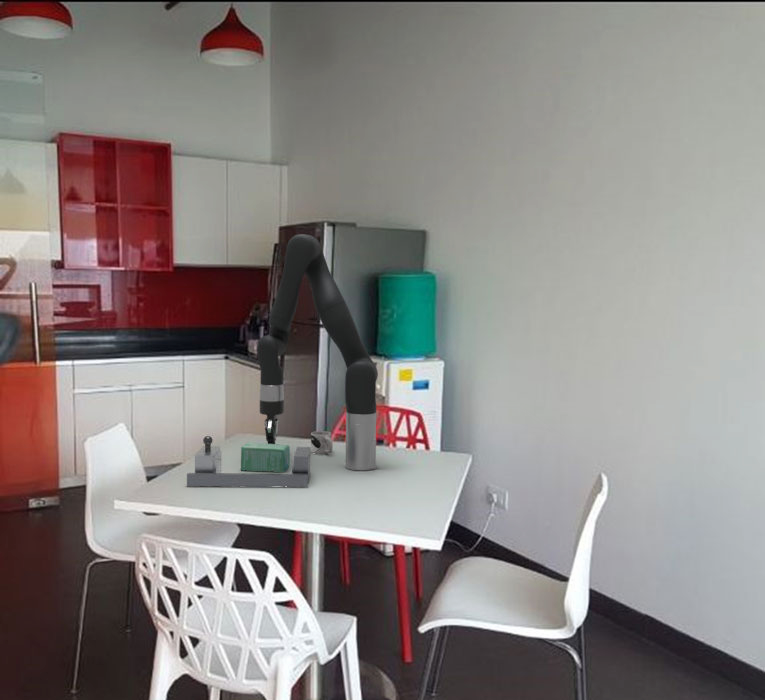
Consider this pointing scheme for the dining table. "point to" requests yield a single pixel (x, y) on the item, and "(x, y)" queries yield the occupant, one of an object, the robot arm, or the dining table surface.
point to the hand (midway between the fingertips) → (271, 452)
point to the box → (265, 457)
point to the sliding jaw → (208, 458)
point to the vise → (259, 475)
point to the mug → (321, 442)
